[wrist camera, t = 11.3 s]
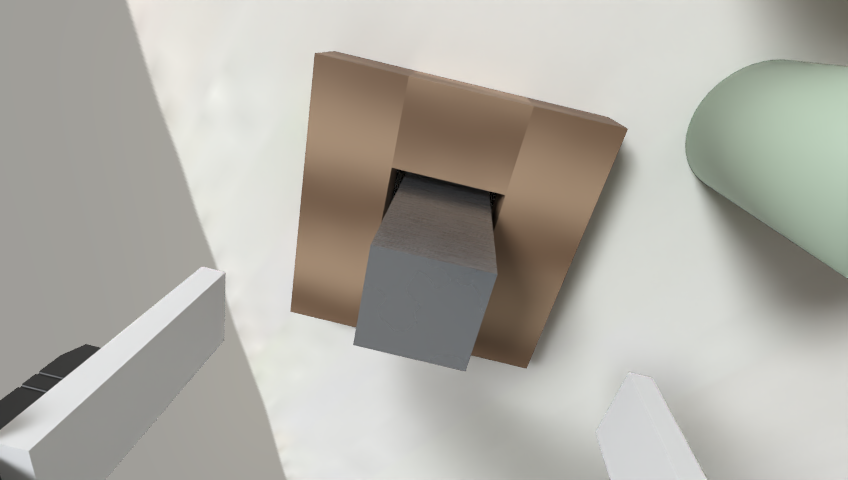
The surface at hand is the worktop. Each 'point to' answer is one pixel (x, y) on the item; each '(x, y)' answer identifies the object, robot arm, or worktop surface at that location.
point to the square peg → (429, 273)
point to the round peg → (780, 151)
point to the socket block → (451, 161)
